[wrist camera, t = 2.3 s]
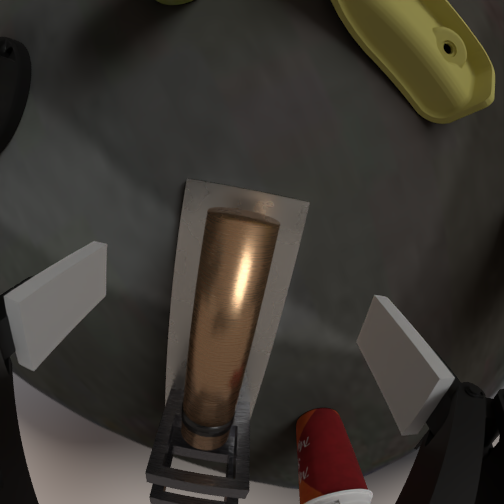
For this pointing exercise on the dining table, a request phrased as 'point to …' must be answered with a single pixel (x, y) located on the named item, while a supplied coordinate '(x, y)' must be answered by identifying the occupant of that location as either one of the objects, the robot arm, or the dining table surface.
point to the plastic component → (423, 54)
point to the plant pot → (173, 2)
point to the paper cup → (328, 461)
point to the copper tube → (224, 320)
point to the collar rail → (182, 301)
